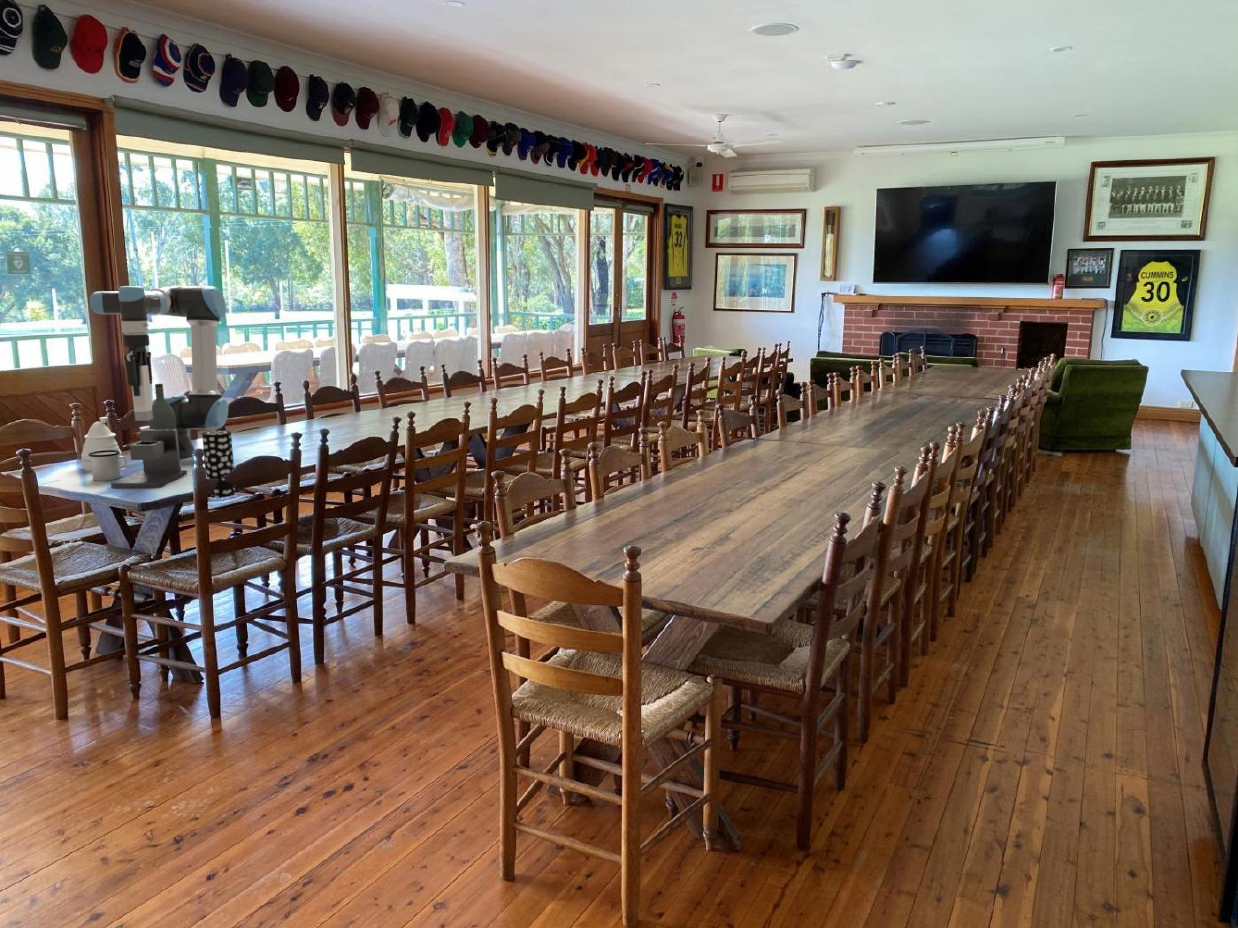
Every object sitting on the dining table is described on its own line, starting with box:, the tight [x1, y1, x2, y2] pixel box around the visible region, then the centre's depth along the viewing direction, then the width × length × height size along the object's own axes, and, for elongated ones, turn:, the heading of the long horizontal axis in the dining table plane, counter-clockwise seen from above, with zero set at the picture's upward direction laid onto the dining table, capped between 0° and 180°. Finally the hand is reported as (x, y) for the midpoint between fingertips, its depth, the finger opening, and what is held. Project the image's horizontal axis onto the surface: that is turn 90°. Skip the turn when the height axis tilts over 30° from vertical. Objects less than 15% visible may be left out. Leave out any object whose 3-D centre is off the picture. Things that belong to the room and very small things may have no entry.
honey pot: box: [80, 416, 124, 472], centre depth 331 cm, size 13×13×18 cm
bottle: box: [147, 383, 176, 430], centre depth 333 cm, size 9×9×30 cm
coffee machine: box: [110, 429, 188, 489], centre depth 310 cm, size 20×16×16 cm
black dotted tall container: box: [201, 430, 237, 499], centre depth 290 cm, size 8×8×20 cm
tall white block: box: [131, 365, 153, 422], centre depth 305 cm, size 4×4×18 cm
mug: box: [88, 450, 128, 482], centre depth 315 cm, size 12×10×9 cm
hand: (142, 404), depth 306 cm, fingers closed on tall white block, 4 cm apart
